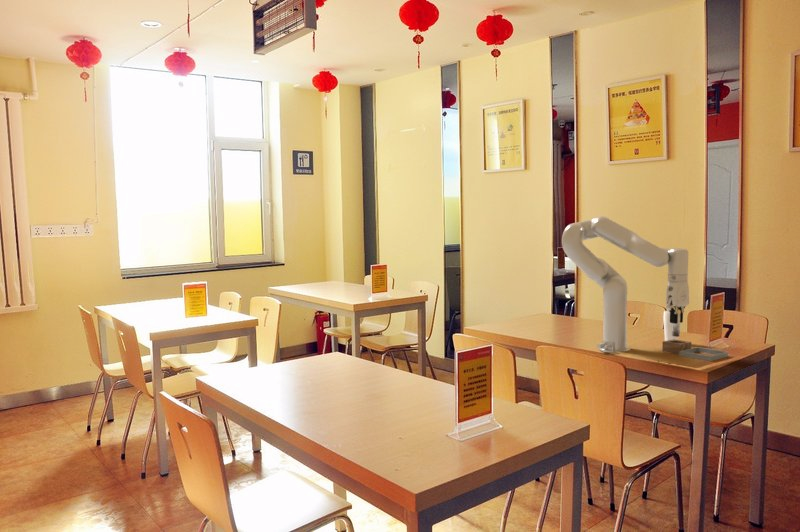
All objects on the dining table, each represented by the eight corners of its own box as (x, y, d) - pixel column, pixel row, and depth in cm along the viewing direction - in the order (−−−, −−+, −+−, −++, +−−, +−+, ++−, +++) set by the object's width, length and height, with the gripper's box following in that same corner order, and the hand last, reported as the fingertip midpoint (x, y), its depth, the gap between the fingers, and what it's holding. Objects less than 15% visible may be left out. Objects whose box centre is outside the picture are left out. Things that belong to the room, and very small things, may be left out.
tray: (710, 363, 247) (710, 356, 247) (679, 358, 258) (679, 351, 258) (727, 358, 255) (728, 351, 255) (696, 353, 266) (696, 346, 265)
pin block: (680, 356, 260) (680, 344, 260) (662, 353, 267) (662, 341, 266) (691, 353, 265) (691, 342, 264) (673, 350, 271) (673, 339, 271)
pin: (677, 336, 263) (678, 309, 262) (669, 335, 266) (670, 308, 265) (681, 336, 265) (682, 308, 264) (674, 334, 268) (675, 307, 267)
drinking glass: (669, 347, 279) (670, 313, 278) (659, 344, 285) (660, 311, 284) (683, 346, 280) (683, 312, 279) (672, 343, 287) (673, 310, 286)
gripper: (674, 280, 256) (673, 326, 257) (697, 278, 265) (695, 321, 267) (657, 279, 262) (656, 323, 263) (680, 276, 271) (678, 319, 273)
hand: (676, 322), depth 265 cm, fingers closed on pin, 3 cm apart
